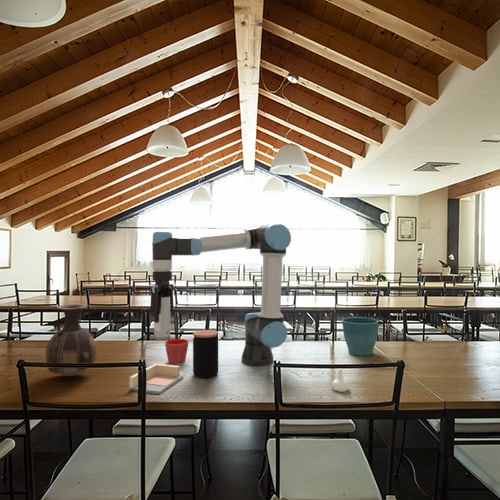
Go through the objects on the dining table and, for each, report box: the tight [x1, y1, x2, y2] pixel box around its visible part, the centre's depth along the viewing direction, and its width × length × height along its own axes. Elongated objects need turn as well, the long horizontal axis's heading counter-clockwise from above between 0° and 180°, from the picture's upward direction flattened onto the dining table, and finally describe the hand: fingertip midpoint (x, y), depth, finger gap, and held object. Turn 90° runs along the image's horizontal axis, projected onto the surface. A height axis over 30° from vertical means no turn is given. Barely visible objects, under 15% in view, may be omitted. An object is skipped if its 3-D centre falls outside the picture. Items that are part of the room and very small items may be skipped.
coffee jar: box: [192, 329, 219, 380], centre depth 162 cm, size 11×11×18 cm
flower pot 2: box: [341, 316, 380, 357], centre depth 195 cm, size 18×18×17 cm
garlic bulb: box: [331, 368, 350, 393], centre depth 145 cm, size 6×6×8 cm
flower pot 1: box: [164, 338, 190, 365], centre depth 180 cm, size 11×11×10 cm
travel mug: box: [153, 288, 171, 341], centre depth 151 cm, size 6×7×20 cm
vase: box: [44, 303, 97, 377], centre depth 159 cm, size 23×19×30 cm
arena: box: [129, 363, 184, 395], centre depth 151 cm, size 13×18×5 cm
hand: (162, 328), depth 151 cm, fingers closed on travel mug, 6 cm apart
